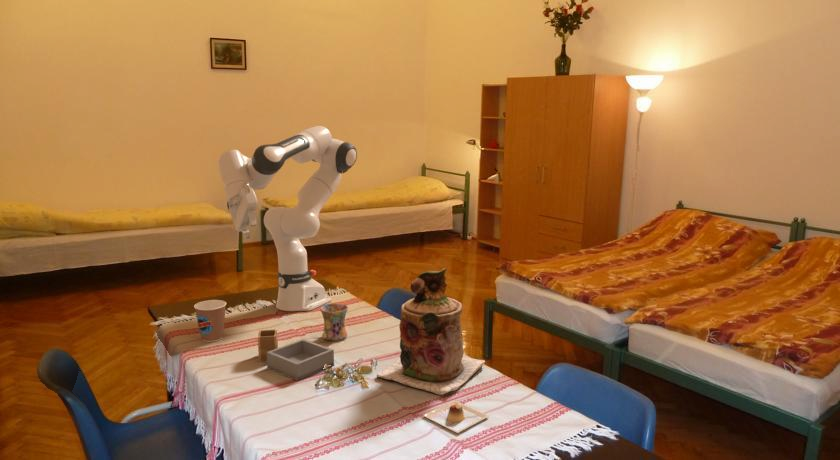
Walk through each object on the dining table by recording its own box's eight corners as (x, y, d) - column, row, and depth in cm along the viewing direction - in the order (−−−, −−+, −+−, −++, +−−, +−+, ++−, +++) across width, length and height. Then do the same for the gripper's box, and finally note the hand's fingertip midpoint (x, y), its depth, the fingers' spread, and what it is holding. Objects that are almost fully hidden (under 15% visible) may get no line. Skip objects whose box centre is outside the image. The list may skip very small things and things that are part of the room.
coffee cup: (189, 340, 203) (187, 306, 200) (213, 330, 212) (210, 297, 209) (211, 346, 198) (209, 311, 196) (235, 336, 207) (233, 302, 205)
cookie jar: (417, 350, 195) (417, 254, 189) (487, 367, 183) (490, 264, 177) (373, 379, 175) (371, 271, 168) (448, 399, 162) (450, 284, 156)
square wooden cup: (260, 354, 191) (259, 330, 190) (278, 353, 192) (277, 329, 191) (258, 362, 186) (257, 337, 184) (277, 360, 187) (276, 336, 185)
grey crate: (303, 353, 192) (303, 338, 191) (334, 365, 183) (333, 349, 182) (267, 367, 181) (266, 352, 180) (297, 380, 173) (297, 364, 172)
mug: (353, 338, 205) (353, 308, 203) (330, 345, 199) (330, 314, 197) (334, 328, 214) (333, 300, 212) (311, 335, 208) (310, 305, 206)
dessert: (422, 419, 153) (422, 401, 152) (454, 403, 161) (454, 386, 160) (457, 437, 144) (457, 418, 143) (489, 419, 153) (490, 402, 152)
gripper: (255, 178, 195) (267, 216, 191) (244, 207, 212) (254, 242, 208) (236, 180, 192) (247, 218, 188) (226, 209, 209) (236, 245, 204)
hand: (251, 231), depth 198 cm, fingers open, 8 cm apart
